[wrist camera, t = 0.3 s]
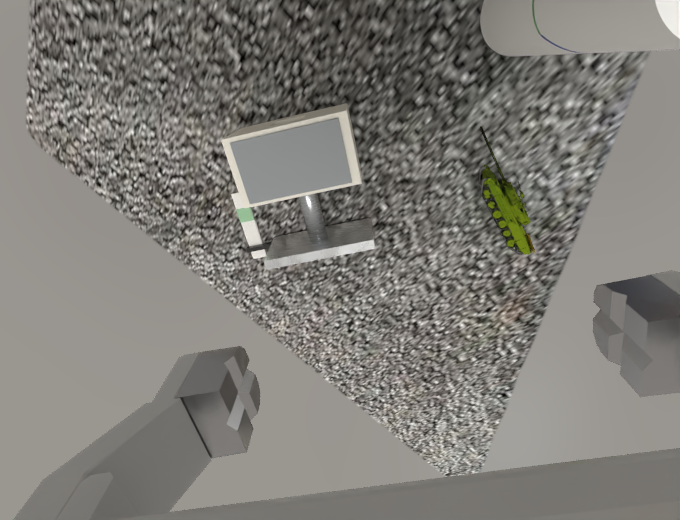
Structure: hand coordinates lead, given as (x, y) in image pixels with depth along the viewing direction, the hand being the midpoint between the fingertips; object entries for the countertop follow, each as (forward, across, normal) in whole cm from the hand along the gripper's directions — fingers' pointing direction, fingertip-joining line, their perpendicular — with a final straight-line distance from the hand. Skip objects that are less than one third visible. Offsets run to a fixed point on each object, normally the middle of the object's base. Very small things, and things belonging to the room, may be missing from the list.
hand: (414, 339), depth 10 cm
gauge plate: (+46, +11, +9) cm, 48 cm away
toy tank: (+47, -16, +12) cm, 51 cm away
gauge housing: (+47, +11, +7) cm, 49 cm away
